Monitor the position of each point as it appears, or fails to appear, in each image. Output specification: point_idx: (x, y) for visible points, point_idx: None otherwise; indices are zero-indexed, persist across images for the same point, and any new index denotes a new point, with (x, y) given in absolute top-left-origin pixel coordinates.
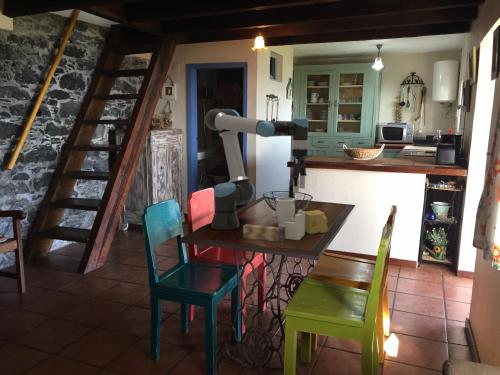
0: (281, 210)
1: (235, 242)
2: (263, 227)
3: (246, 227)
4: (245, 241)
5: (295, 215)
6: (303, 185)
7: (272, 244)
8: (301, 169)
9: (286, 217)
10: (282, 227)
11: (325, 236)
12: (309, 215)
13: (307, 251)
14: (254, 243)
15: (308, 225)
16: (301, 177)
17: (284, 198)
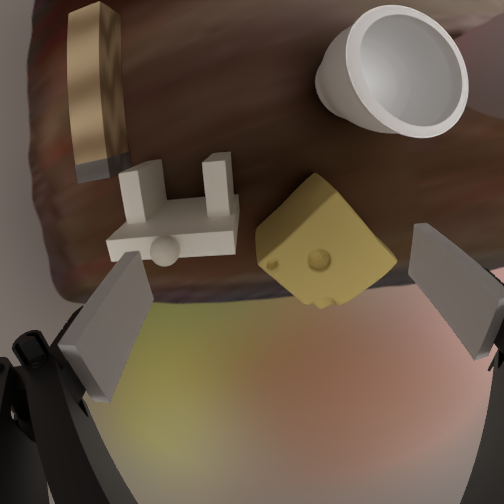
0: (326, 64)
1: (41, 43)
2: (75, 91)
3: (70, 26)
4: (59, 59)
5: (110, 241)
6: (423, 281)
7: (65, 156)
8: (495, 438)
9: (326, 97)
10: (106, 166)
11: (248, 287)
12: (262, 259)
13: (71, 280)
14: (51, 98)
15: (266, 231)
16: (478, 312)
17: (456, 57)
